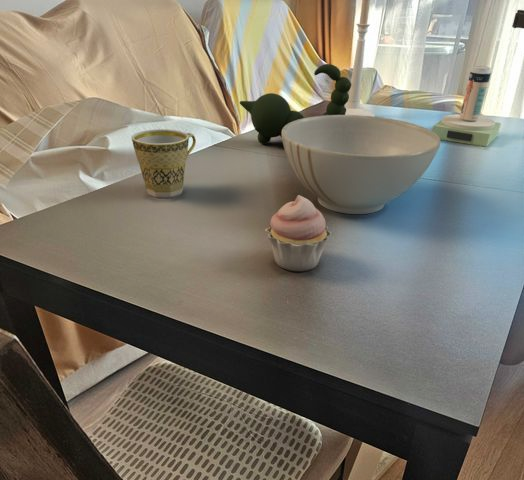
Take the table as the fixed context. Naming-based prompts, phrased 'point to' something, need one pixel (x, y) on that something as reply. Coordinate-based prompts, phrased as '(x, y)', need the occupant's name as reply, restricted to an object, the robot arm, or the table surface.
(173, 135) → the ceramic cup
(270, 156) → the table surface
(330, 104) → the toy figurine
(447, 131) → the kitchen scale
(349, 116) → the decorative bowl
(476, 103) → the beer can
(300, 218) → the cupcake
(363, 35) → the candlestick
